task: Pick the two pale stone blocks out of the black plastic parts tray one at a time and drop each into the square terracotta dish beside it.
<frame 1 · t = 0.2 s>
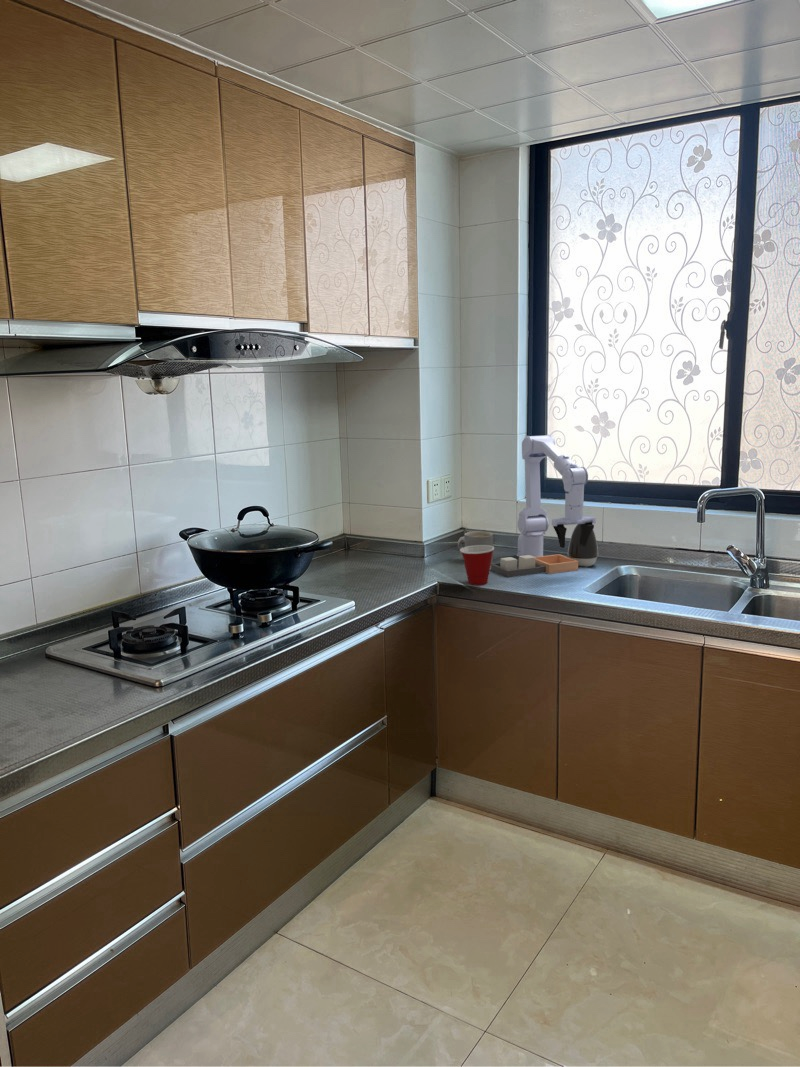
hand: (572, 546, 260), 10 cm above the worktop, tool pointing down, fingers open, 7 cm apart
dark grey rounded dome: (582, 565, 275), on the worktop
terracotta dish: (554, 569, 270), on the worktop
stone b: (508, 572, 266), point 1 cm above the worktop, touching parts tray
plastic cup: (477, 585, 254), on the worktop
coffee mug: (475, 561, 284), on the worktop
parts tray: (517, 572, 267), on the worktop
stone a: (526, 569, 268), point 1 cm above the worktop, touching parts tray
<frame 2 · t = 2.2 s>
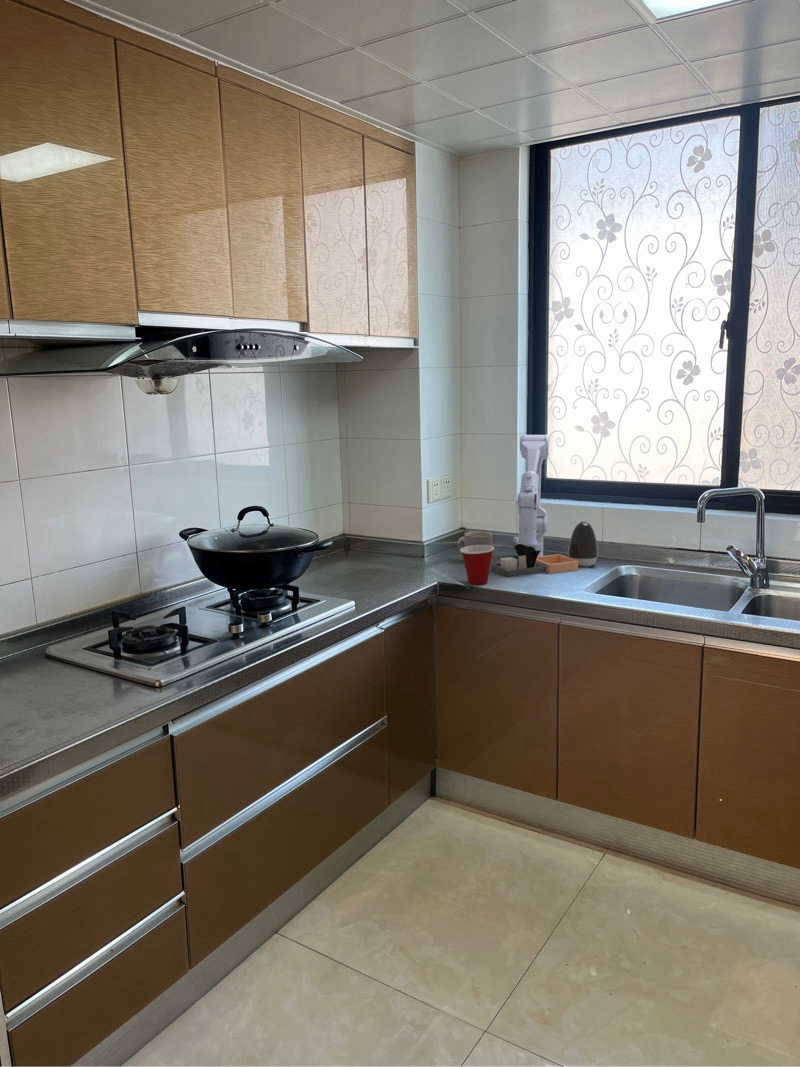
hand: (526, 567, 268), 1 cm above the worktop, tool pointing down, fingers closed on stone a, 4 cm apart
stone a: (526, 569, 268), point 1 cm above the worktop, touching gripper, parts tray
everything else where it was.
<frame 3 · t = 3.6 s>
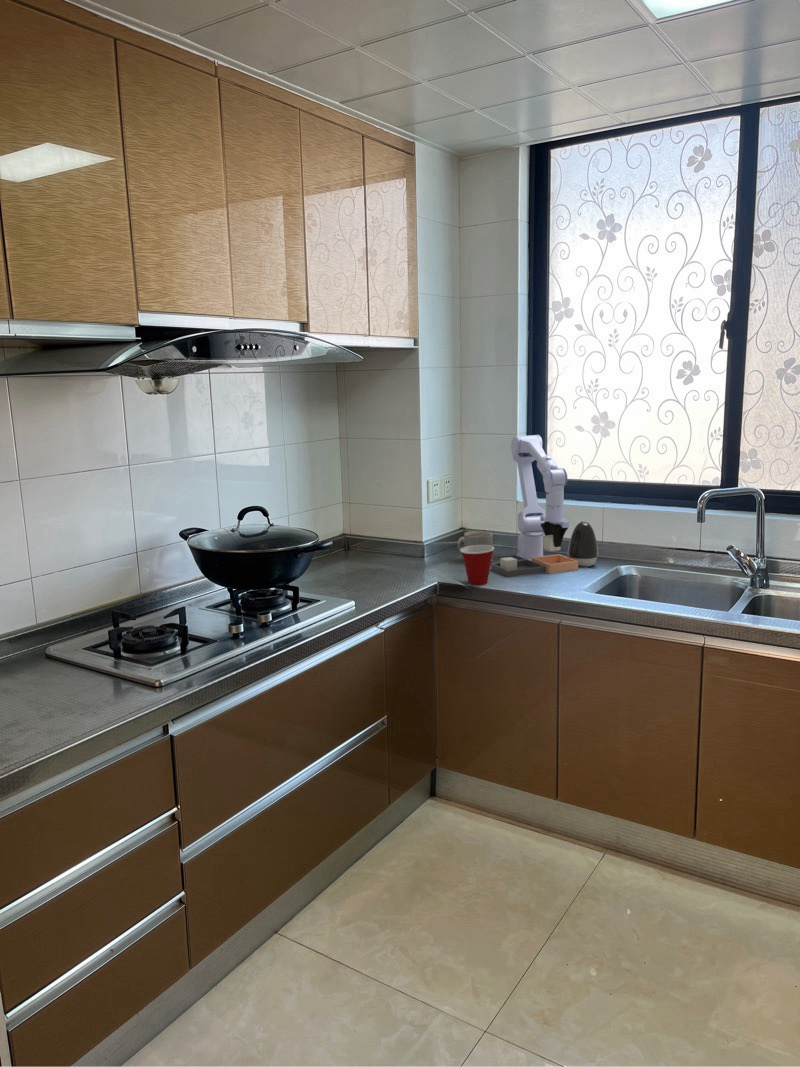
hand: (553, 545, 268), 8 cm above the worktop, tool pointing down, fingers closed on stone a, 4 cm apart
stone a: (552, 549, 269), point 7 cm above the worktop, touching gripper
everything else where it was.
when the fingers open (4 cm above the worktop, at t = 4.8 s): stone a drops 2 cm, resting on terracotta dish.
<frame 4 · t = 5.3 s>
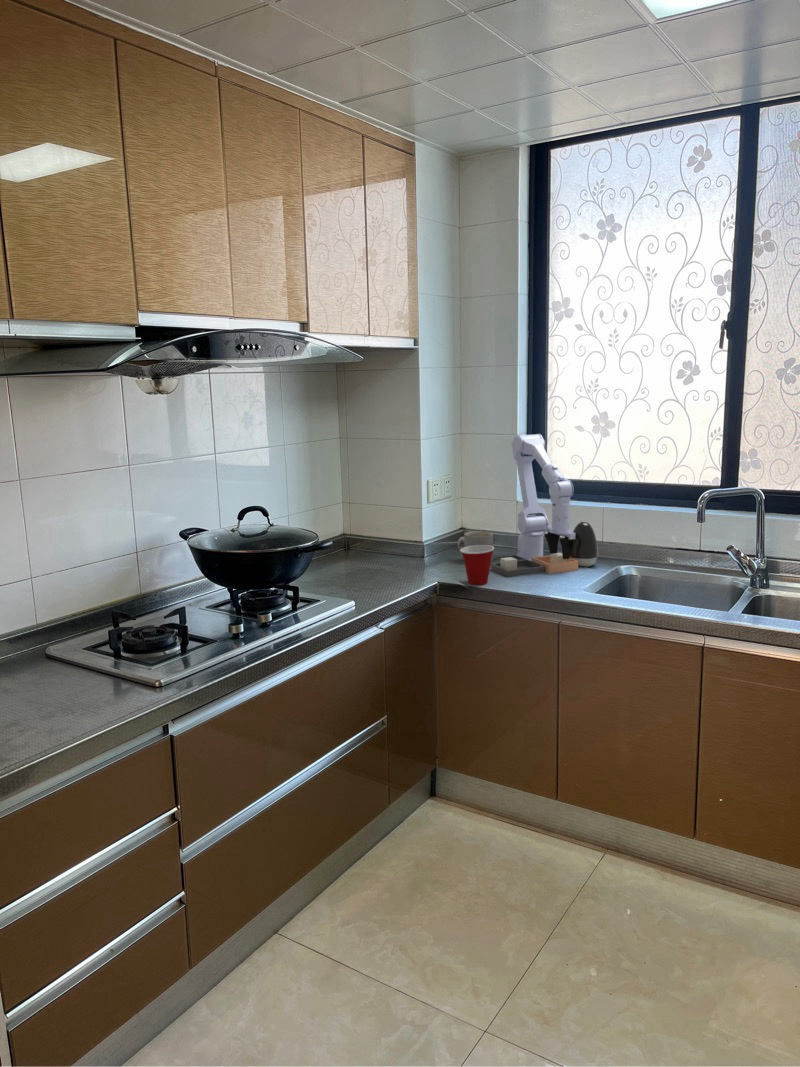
hand: (559, 556, 270), 4 cm above the worktop, tool pointing down, fingers open, 7 cm apart
stone a: (558, 567, 270), point 1 cm above the worktop, touching terracotta dish
everything else where it was.
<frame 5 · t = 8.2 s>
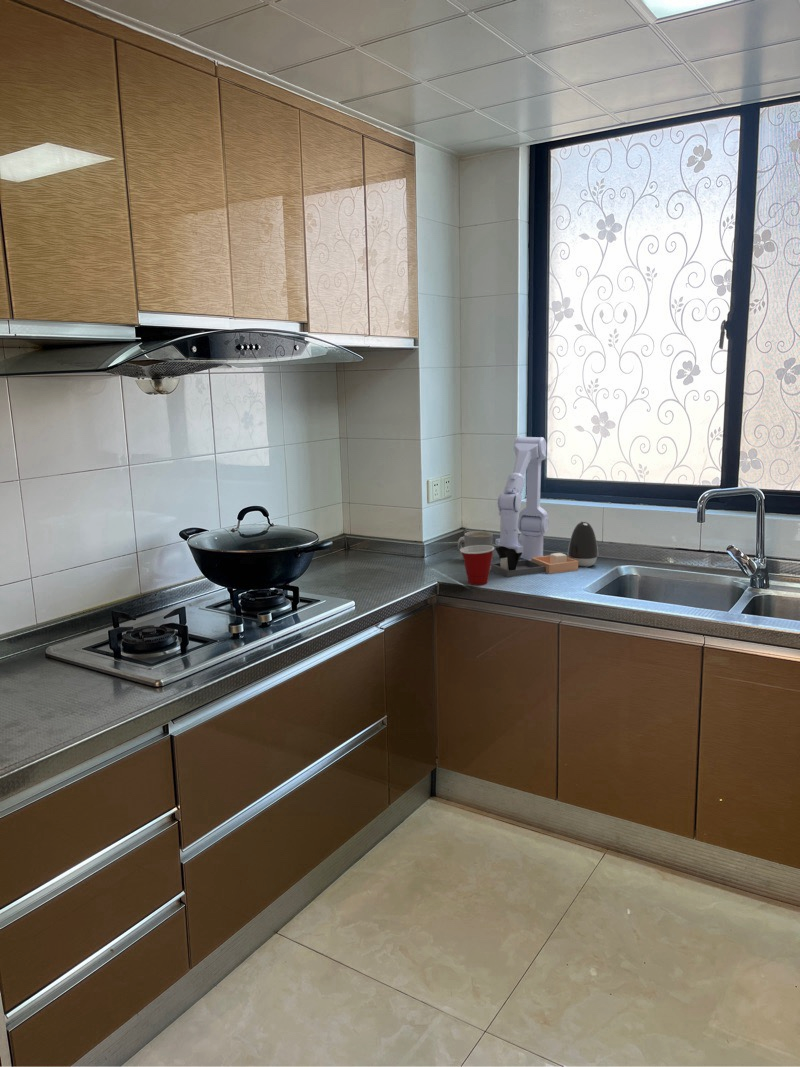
hand: (508, 569, 265), 1 cm above the worktop, tool pointing down, fingers closed on stone b, 4 cm apart
stone b: (508, 572, 266), point 1 cm above the worktop, touching gripper, parts tray
everything else where it was.
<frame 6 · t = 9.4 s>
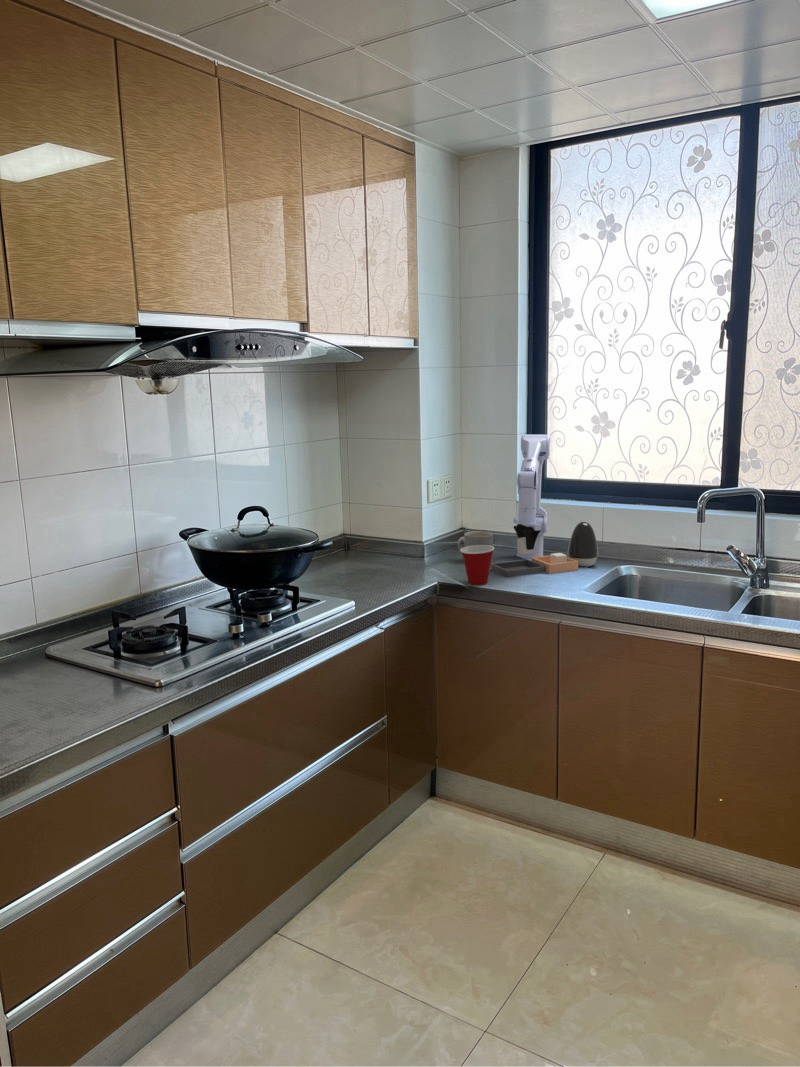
hand: (526, 548, 266), 8 cm above the worktop, tool pointing down, fingers closed on stone b, 4 cm apart
stone b: (525, 551, 266), point 7 cm above the worktop, touching gripper
everything else where it was.
when the fingers open (4 cm above the worktop, at t = 10.8 s): stone b stays where it is, resting on stone a, terracotta dish.
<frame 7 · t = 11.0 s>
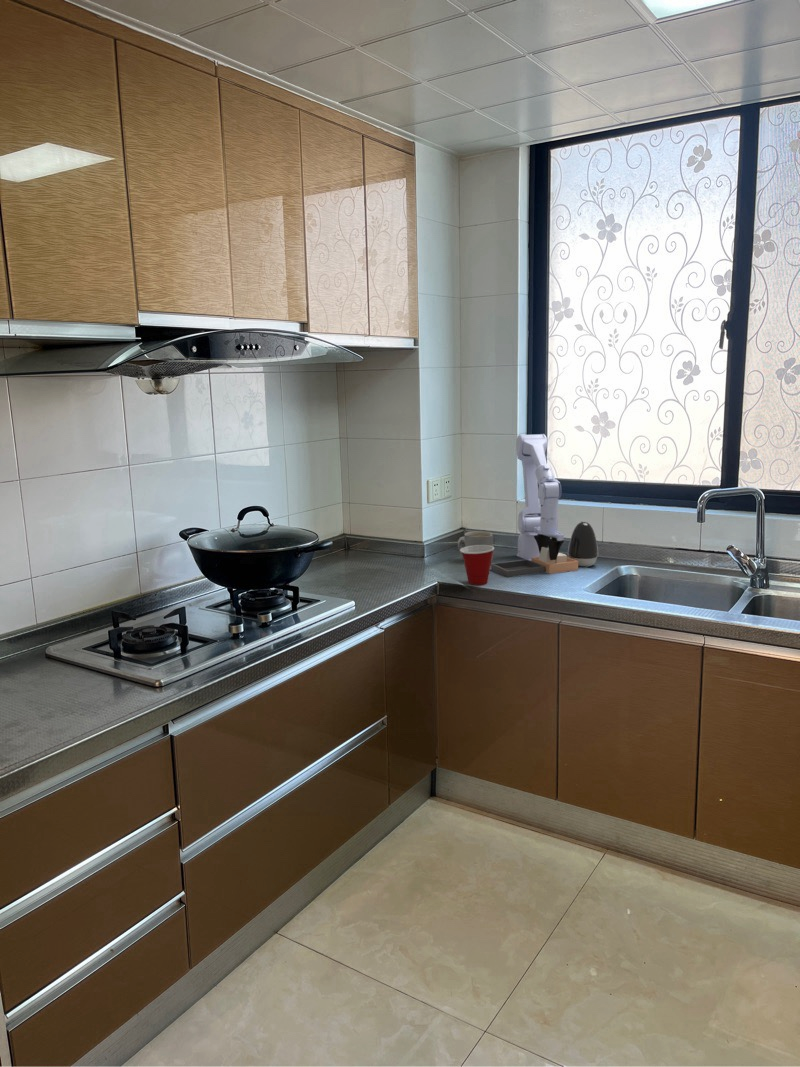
hand: (548, 557, 268), 4 cm above the worktop, tool pointing down, fingers open, 5 cm apart
stone b: (546, 561, 268), point 3 cm above the worktop, tilted 16°, touching stone a, terracotta dish
stone a: (558, 567, 270), point 1 cm above the worktop, touching stone b, terracotta dish
everything else where it was.
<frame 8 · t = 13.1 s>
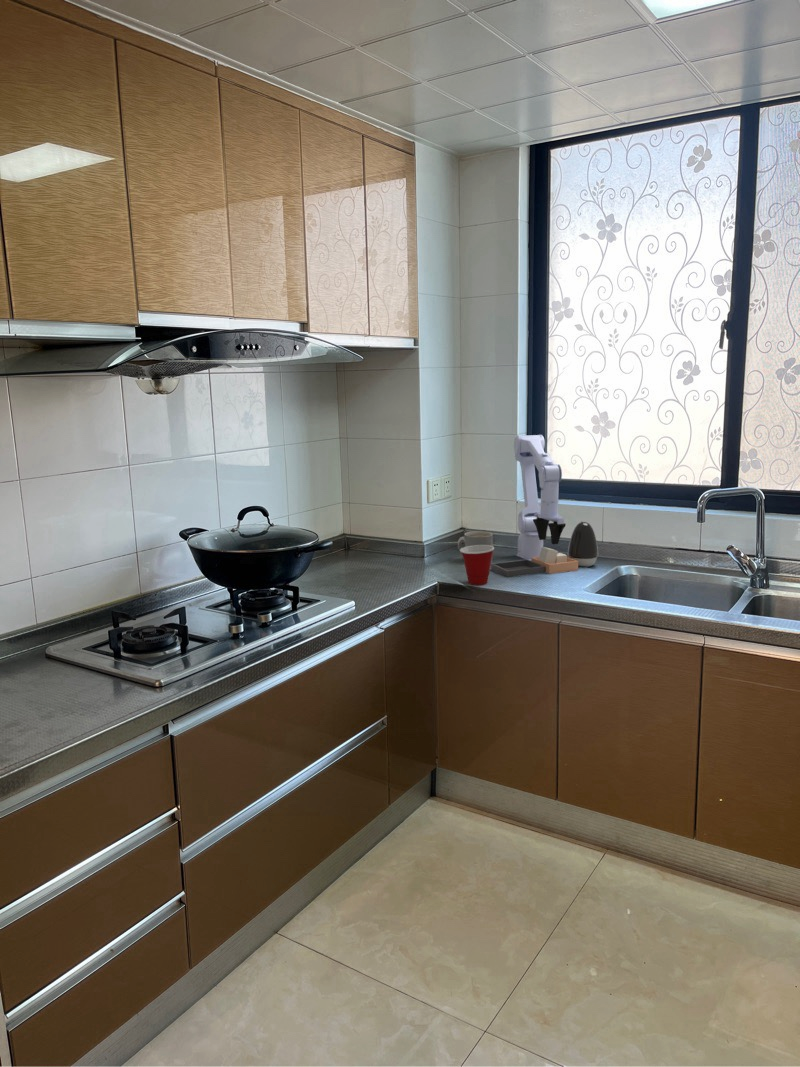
hand: (548, 541, 267), 10 cm above the worktop, tool pointing down, fingers open, 7 cm apart
nothing on the worktop moved.
at the end: stone a inside the target area on the terracotta dish (1.5 cm from its centre), point 0.6 cm above the terracotta dish's base; stone b inside the target area on the terracotta dish (3.2 cm from its centre), point 3.1 cm above the terracotta dish's base; the gripper is holding nothing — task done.
